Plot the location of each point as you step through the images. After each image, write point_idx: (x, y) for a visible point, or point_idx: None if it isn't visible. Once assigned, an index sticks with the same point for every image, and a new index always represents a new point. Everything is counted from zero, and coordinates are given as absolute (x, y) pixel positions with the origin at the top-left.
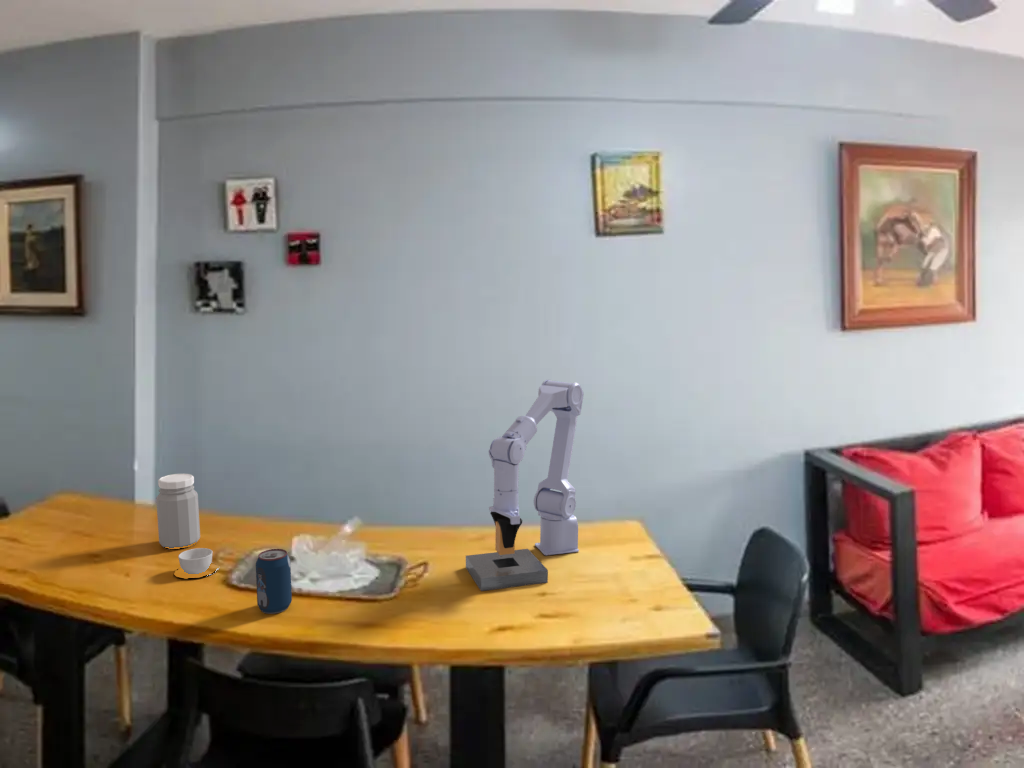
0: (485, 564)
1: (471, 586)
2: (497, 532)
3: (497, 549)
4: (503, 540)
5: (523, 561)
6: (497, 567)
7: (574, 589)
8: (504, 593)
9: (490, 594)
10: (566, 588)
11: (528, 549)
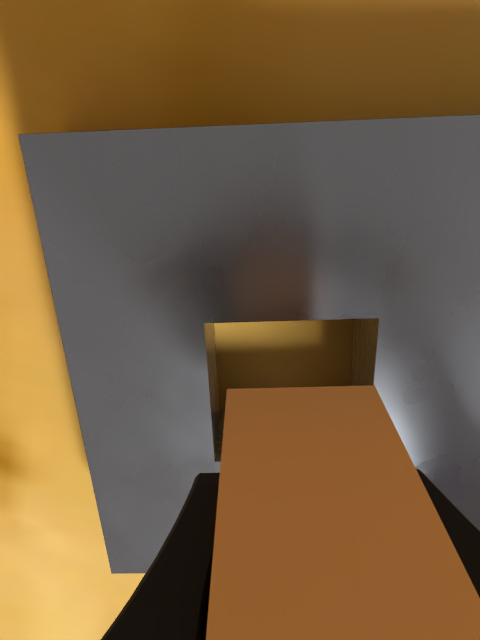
0: (306, 244)
1: (156, 79)
2: (349, 558)
3: (308, 401)
4: (174, 534)
5: None
6: (220, 319)
7: (38, 582)
8: (18, 277)
9: (8, 187)
10: (52, 560)
11: None
